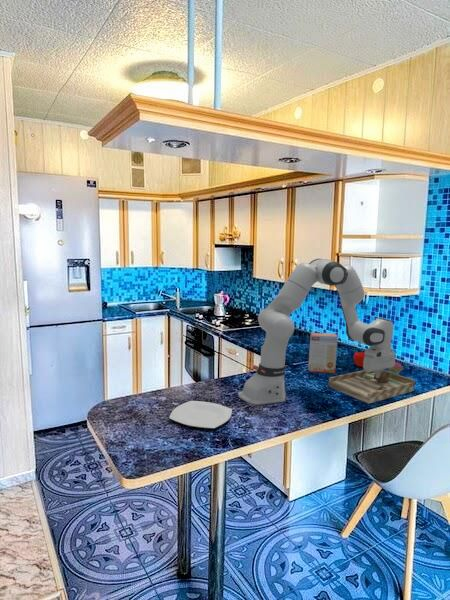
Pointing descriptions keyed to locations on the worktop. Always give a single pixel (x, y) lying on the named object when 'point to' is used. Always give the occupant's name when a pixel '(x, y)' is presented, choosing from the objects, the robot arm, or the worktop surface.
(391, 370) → the cupcake
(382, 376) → the walnut block
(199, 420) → the plate
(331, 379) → the trap deck
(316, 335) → the cracker box
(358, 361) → the apple
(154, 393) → the worktop surface
